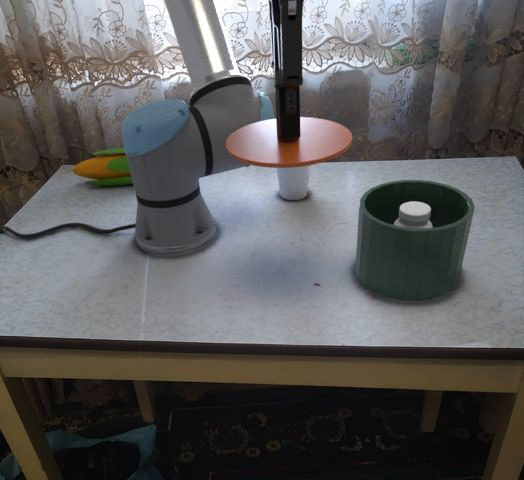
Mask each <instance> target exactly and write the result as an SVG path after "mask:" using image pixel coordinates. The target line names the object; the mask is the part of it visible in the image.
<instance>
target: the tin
mask: <svg viewBox="0 0 524 480" xmlns="http://www.w3.org/2000/svg"><path fill="white" fill-rule="evenodd" d="M406 202H422V203H425V204H427V205H429V206H430V208H431V213H430V218H429V221H430V222H431V223H432V226H433V228H407V227H400V226H396V225H393V224H394V222H395V221H396V220H397V219H398V218H399V209H400V206H401V205H402V204H404V203H406ZM475 208H476V207H475V204H474V201H473V199H472V198H471V197H470V196H469V195H468V194H467V193H466V192H464V191H462V190H460V189H458V188H457V187H454V186H451V185H449V184H445V183H442V182H437V181H432V180H423V179H402V180H393V181H388V182H384V183H381V184H378V185H374V186H373V187H371V188H369V189H368V190H367V191H365V192H364V193H363V194H362V195H361V197H360V198H359V202H358V217H357V218H358V220H357V235H356V236H357V237H356V252H355V264H354V265H355V267H354V268H355V269H354V273H355V276H356V277H357V280H358V281H359V283H360V284H361V285H362V286H363V287H364V288H366V290H369V291H371V292H372V293H374V294H376V295H379V296H381V297H384V298H387V299H393V300H397V301H403V302H407V301H408V302H419V301H427V300H428V301H429V300H434V299H437V298H439V297H443V296H445V295H446V294H448V293H450V292H451V291H452V292H453V291H454V290H455V289H456V288H457V286H458V284H459V281H460V277H461V273H462V268H463V262H464V258H465V253H466V249H467V244H468V240H469V237H470V231H471V226H472V222H473V217H474V214H475Z"/></svg>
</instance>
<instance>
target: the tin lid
mask: <svg viewBox="0 0 524 480" xmlns="http://www.w3.org/2000/svg"><path fill="white" fill-rule="evenodd" d="M273 70H274V74H273V79H274V81H275V82H274V81H273V82H274V84H276V83H279V81H280V75H279V67H276V68H275V69H274V68H273ZM274 99H275V100H274V101H275V102H276V104H275V119H270V120H264V121H260V122H256V123H253V124H250V125H247V126H244V127H242V128H240V129H238V130H236V131H235V132H233V133H232V134H231V135H230V136H229V137H228V138H227V140H226V150H227V152H228V154H229V155H230V156H231V157H232V158H234V159H236V160H238V161H240V162H243V163H246V164H249V165H250V166H255V167H260V168H271V169H276V168H291V167H301V166H308V165H310V166H313V165H318V164H321V163H325V162H328V161H331V160H333V159H336V158H338V157H340V156H341V155H344V154H345V153H346V152H347V151H348V150H349V149H351V147H352V145H353V134H352V132H351V130H349V128H348V127H346V126H345V125H342V124H341V123H338V122H336V121H332V120H329V119H324V118H318V117H306V116H300V137H295V138H286V139H281V137H280V117H279V93H278V89H275V88H274ZM276 124H277V125H276Z"/></svg>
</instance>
